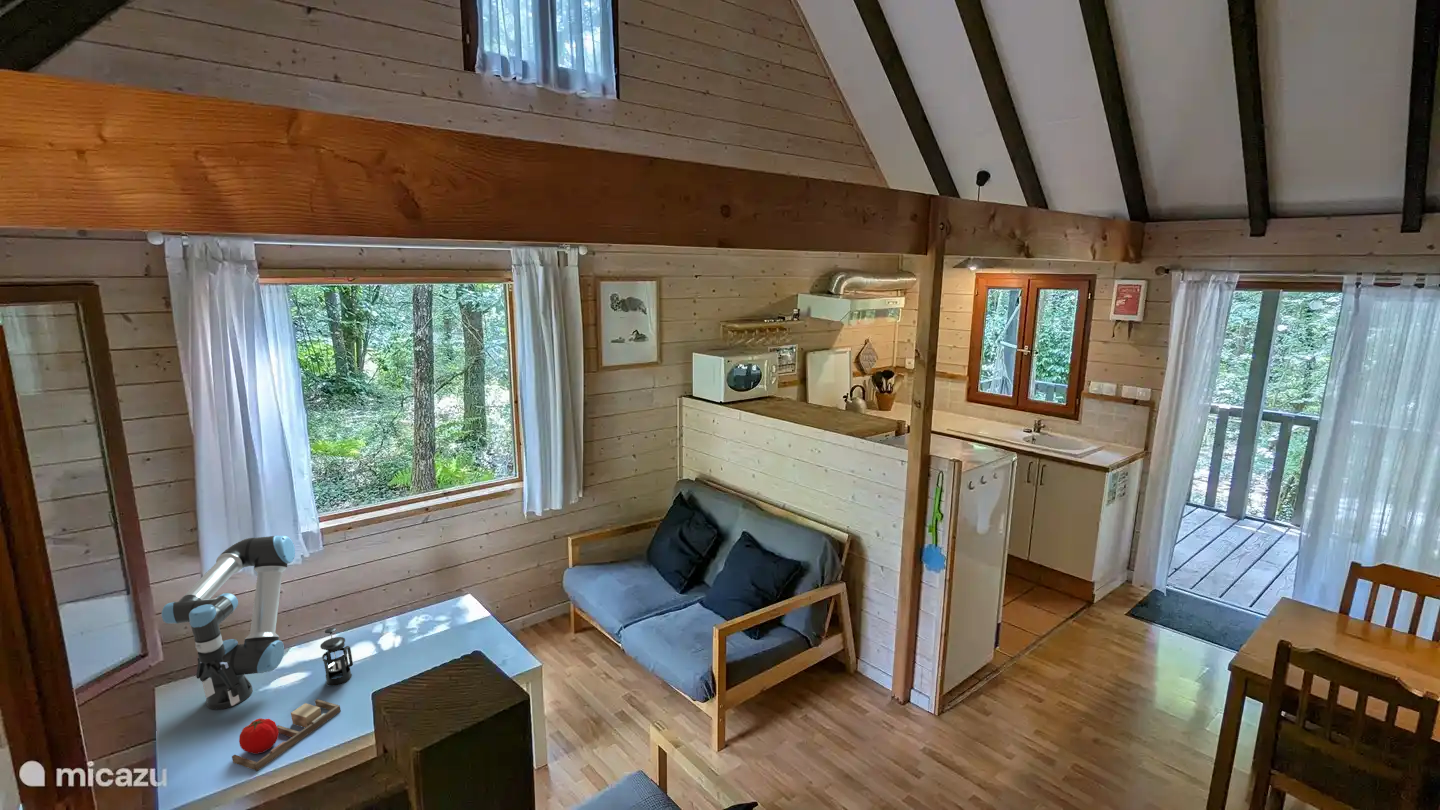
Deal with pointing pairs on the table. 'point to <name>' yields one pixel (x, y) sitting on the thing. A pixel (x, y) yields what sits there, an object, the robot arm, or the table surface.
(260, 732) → the tomato
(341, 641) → the french press
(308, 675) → the table surface
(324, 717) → the rack
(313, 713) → the light wooden block
